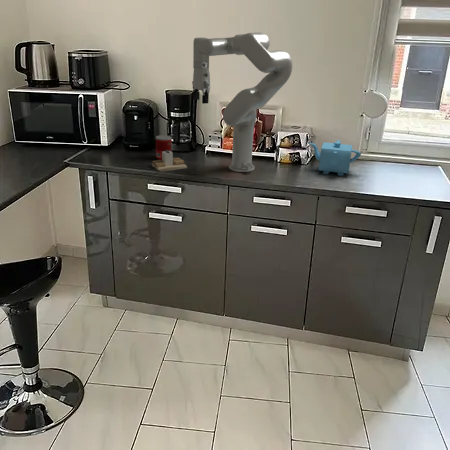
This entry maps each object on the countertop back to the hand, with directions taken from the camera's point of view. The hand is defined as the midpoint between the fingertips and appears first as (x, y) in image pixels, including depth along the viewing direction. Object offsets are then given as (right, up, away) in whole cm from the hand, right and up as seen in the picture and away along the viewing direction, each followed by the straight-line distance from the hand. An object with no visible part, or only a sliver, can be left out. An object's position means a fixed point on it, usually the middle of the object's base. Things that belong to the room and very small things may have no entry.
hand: (200, 101), depth 240 cm
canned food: (-19, -27, +8) cm, 34 cm away
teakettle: (+64, -35, -3) cm, 73 cm away
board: (-15, -33, -5) cm, 36 cm away
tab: (-16, -31, -4) cm, 35 cm away
